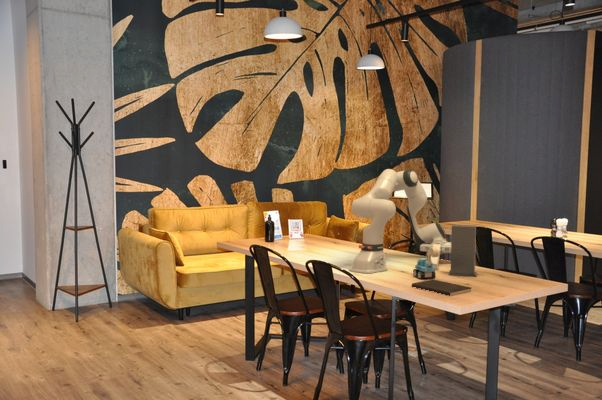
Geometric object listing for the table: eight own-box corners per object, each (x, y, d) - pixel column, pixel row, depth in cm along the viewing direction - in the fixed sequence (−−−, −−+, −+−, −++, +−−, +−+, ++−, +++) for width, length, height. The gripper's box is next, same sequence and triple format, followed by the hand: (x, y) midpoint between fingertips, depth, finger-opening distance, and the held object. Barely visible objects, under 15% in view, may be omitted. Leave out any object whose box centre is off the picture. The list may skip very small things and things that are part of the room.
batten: (437, 269, 334) (437, 263, 332) (429, 269, 335) (429, 263, 333) (440, 250, 350) (440, 244, 349) (433, 249, 352) (433, 244, 350)
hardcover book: (433, 283, 301) (433, 279, 300) (471, 292, 282) (472, 287, 282) (411, 288, 291) (411, 283, 291) (449, 297, 273) (449, 292, 273)
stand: (476, 277, 315) (477, 227, 313) (448, 275, 319) (449, 226, 317) (476, 273, 324) (478, 225, 322) (449, 271, 329) (450, 224, 327)
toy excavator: (427, 282, 301) (427, 248, 300) (411, 276, 317) (412, 243, 316) (442, 281, 304) (443, 247, 302) (426, 275, 320) (427, 242, 318)
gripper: (420, 240, 363) (418, 244, 349) (456, 242, 356) (454, 245, 343) (420, 251, 363) (417, 255, 350) (455, 252, 357) (454, 256, 344)
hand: (436, 250), depth 347 cm, fingers closed on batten, 4 cm apart
